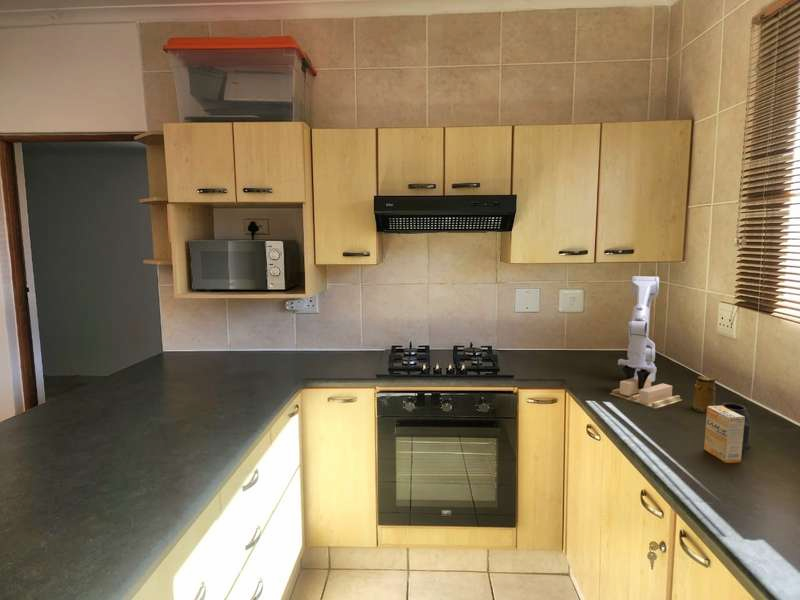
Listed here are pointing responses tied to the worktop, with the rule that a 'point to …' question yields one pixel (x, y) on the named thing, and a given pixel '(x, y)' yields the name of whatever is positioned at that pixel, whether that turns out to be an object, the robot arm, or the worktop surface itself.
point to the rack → (654, 405)
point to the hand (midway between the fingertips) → (635, 387)
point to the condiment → (704, 393)
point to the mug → (743, 412)
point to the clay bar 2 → (655, 393)
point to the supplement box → (724, 433)
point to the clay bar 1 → (632, 386)
